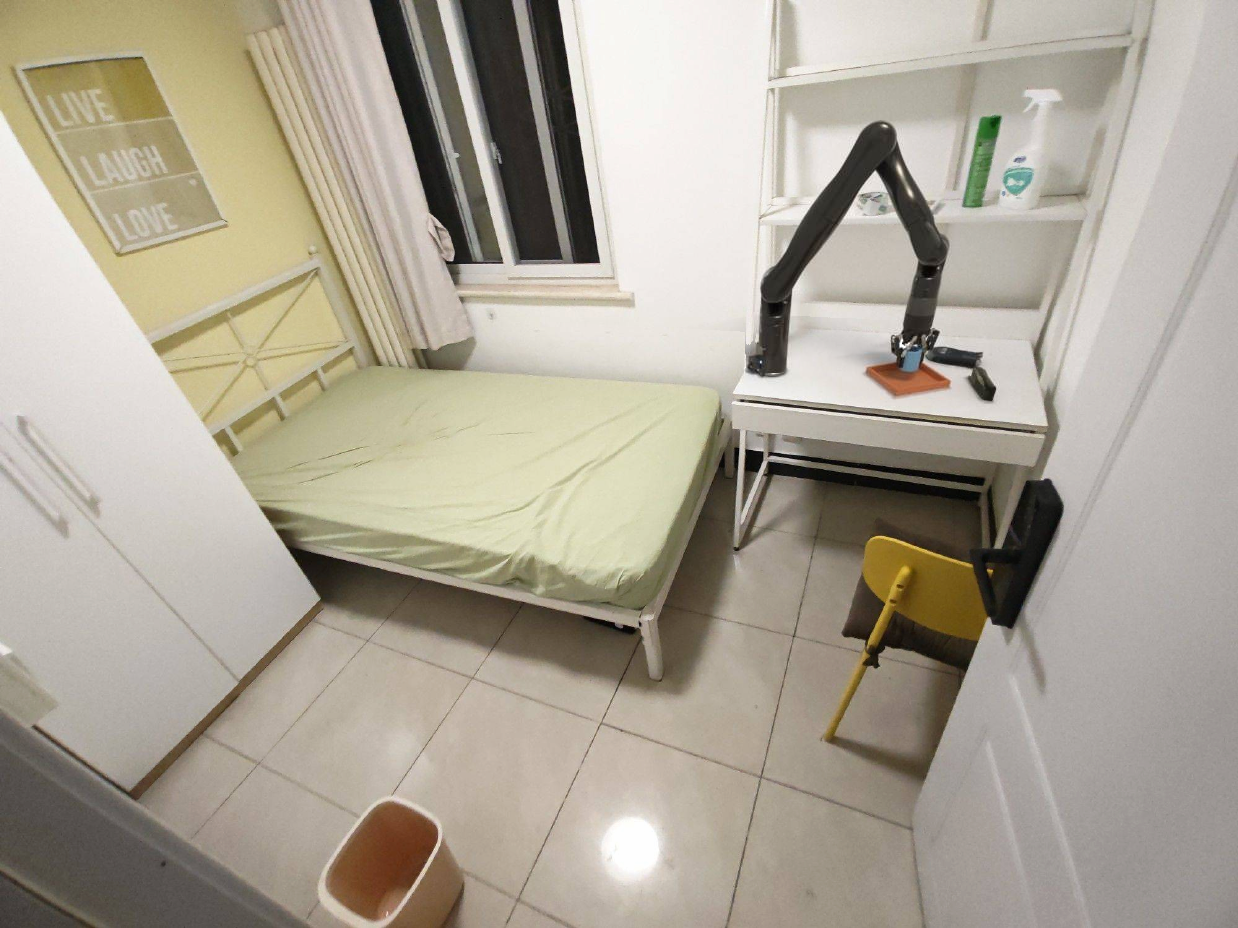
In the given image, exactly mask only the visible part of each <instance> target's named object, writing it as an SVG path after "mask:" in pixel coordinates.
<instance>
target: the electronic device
mask: <svg viewBox="0 0 1238 928" xmlns="http://www.w3.org/2000/svg"><path fill="white" fill-rule="evenodd" d="M925 355H926V358H928V360H930V361H932V362H934V363H938V364H944V365H945V364H946V365H951V366H961V367H967V368H968V367H969V368H975V367H979V364H980V361H981V359H982V358H983V357H984V351H971V350H970V351H969V350H963V349H958V348H954V347H950V346H949V347H948V346H941V345H940V346H934V347H933V349H932V350H928V351H927V352H926V354H925Z"/></svg>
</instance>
